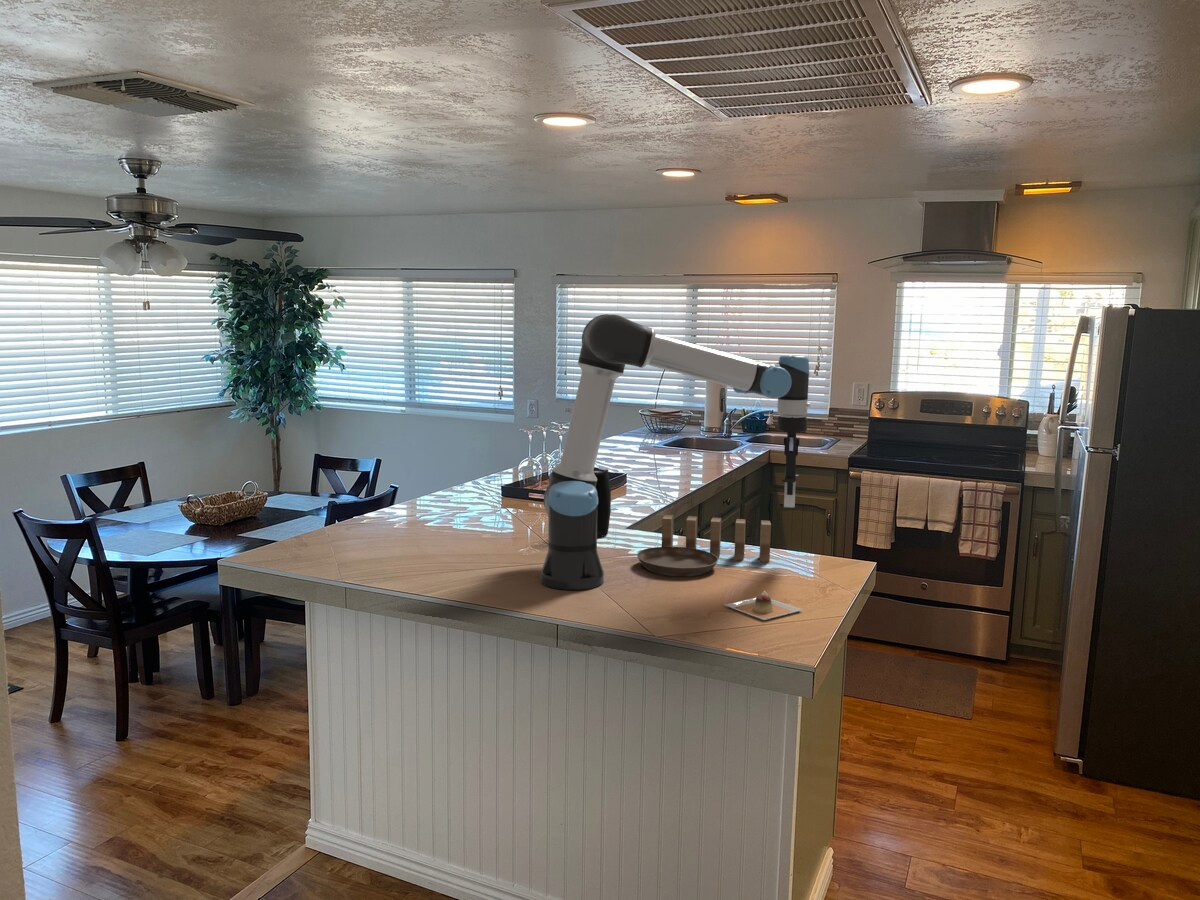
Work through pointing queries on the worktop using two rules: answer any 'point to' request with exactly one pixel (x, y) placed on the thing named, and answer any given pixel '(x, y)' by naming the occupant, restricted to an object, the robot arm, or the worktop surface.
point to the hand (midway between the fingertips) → (789, 504)
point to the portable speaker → (603, 501)
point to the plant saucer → (677, 561)
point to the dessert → (763, 606)
